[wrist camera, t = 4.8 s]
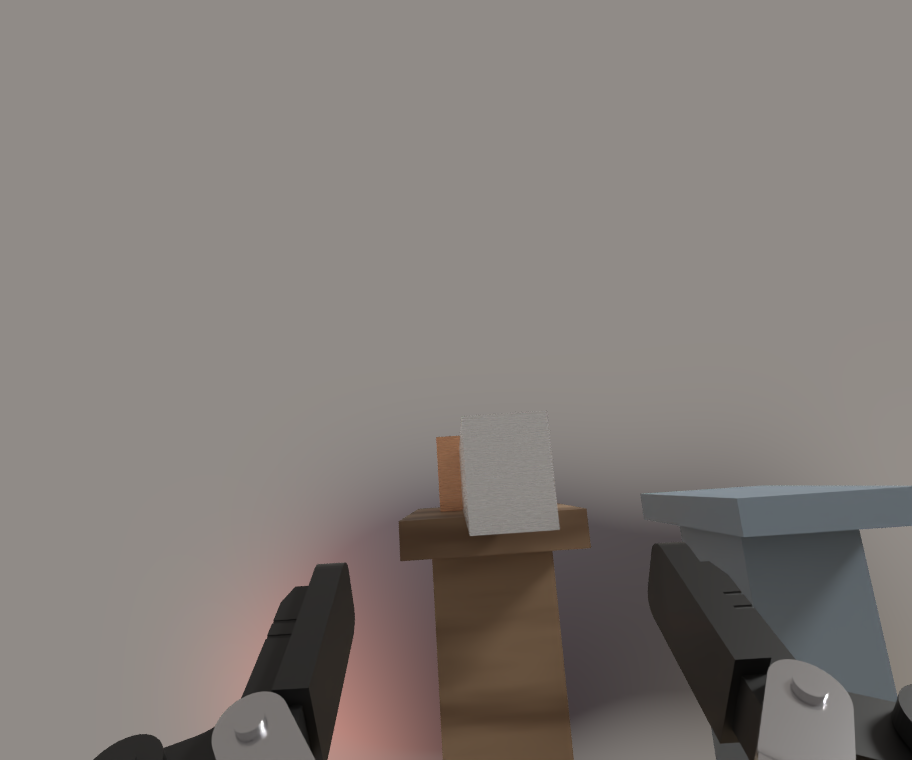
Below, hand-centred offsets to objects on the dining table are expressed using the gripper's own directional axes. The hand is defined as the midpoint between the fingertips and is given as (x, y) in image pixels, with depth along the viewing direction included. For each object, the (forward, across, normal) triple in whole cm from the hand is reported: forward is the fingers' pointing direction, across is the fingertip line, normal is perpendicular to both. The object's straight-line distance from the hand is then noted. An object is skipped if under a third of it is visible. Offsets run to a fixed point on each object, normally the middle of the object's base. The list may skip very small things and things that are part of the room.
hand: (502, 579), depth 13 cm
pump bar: (+13, +1, -7) cm, 15 cm away
